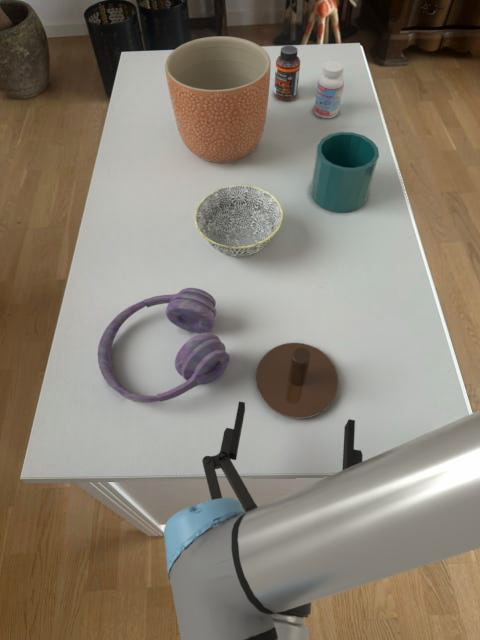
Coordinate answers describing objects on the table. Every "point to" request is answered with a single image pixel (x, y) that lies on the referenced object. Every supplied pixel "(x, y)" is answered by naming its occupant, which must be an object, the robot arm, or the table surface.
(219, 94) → the planter
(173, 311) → the headphones
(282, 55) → the supplement bottle
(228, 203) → the bowl
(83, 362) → the table surface
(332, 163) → the storage jar
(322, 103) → the pill bottle
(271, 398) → the jar lid
